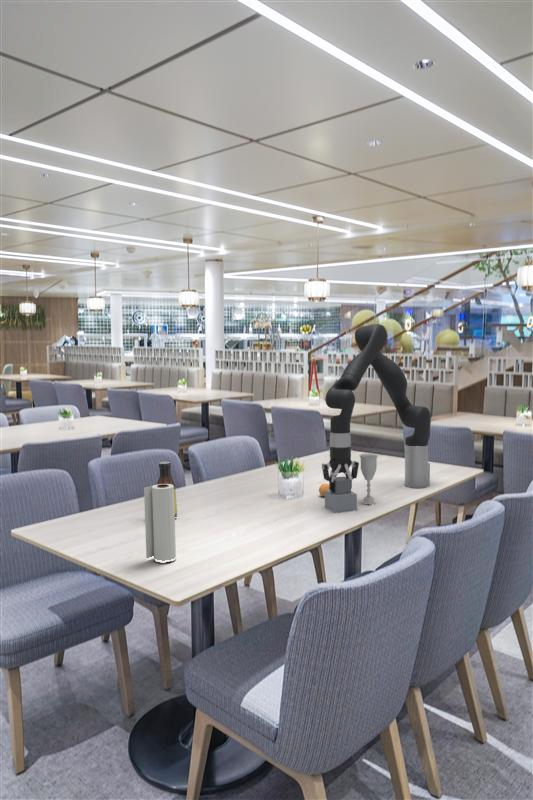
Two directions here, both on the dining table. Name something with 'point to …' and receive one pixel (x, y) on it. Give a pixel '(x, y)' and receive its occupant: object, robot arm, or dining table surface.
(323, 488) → the ball
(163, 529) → the paper towel roll
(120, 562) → the dining table surface
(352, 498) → the grey stepped block
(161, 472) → the sauce bottle
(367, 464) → the chalice
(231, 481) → the dining table surface
